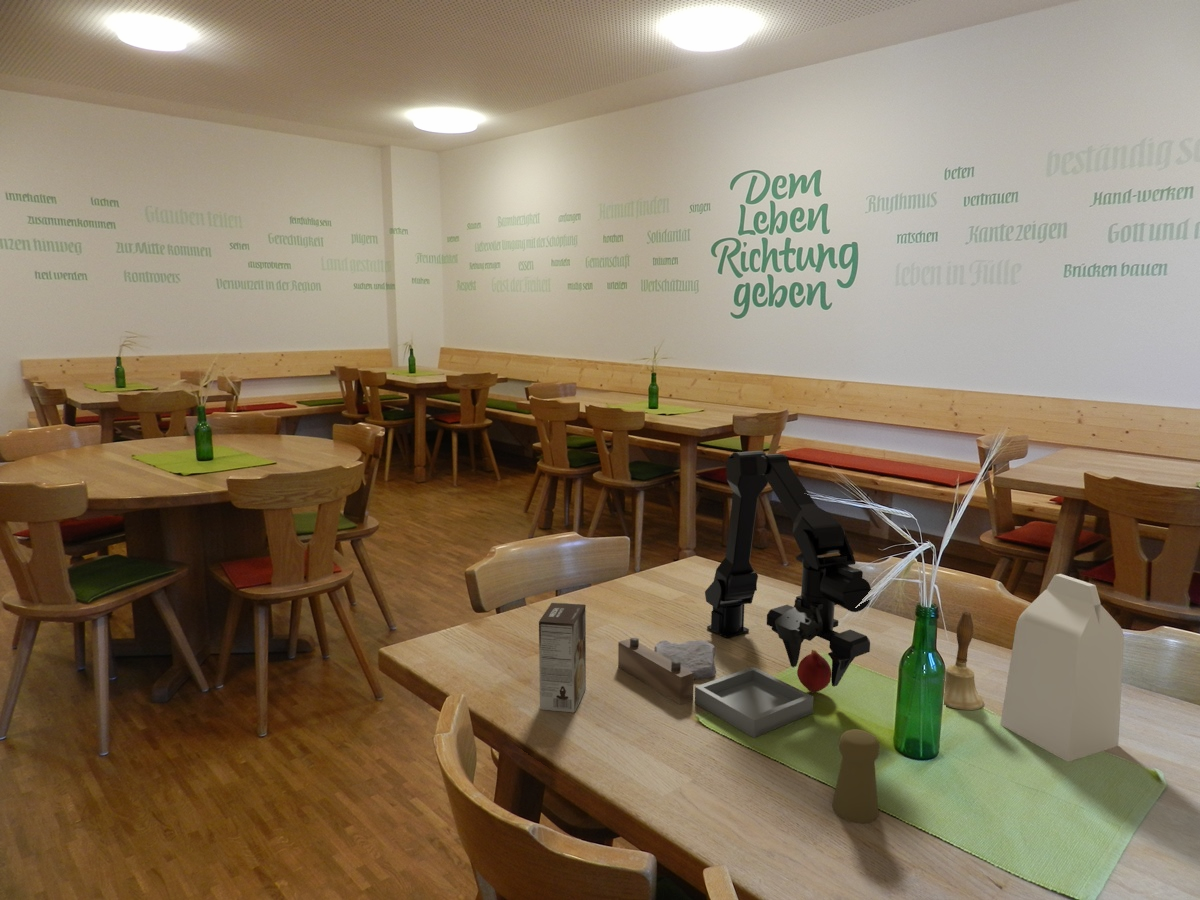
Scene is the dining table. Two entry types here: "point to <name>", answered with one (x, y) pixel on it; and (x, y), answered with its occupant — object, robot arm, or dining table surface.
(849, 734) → the brown peg figure
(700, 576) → the dining table surface
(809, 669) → the onion
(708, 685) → the tray
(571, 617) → the coffee box
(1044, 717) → the milk
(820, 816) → the dining table surface
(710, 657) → the stone block
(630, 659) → the bar
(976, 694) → the hand bell
